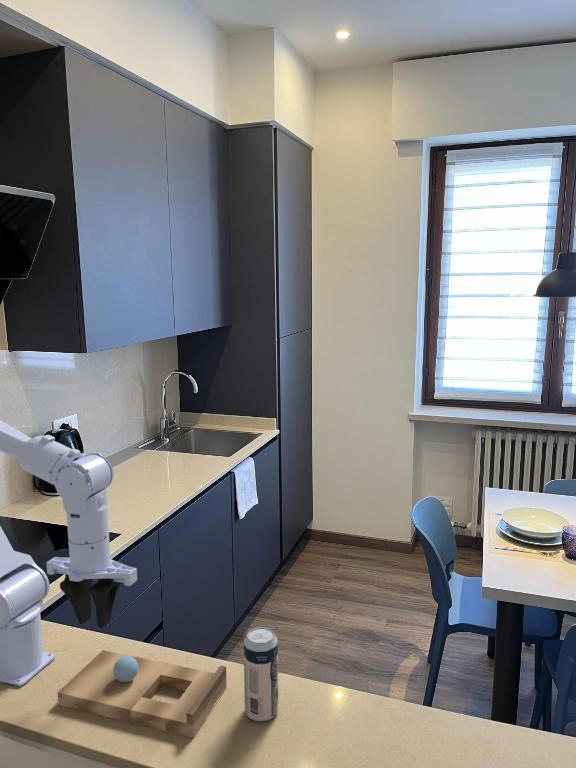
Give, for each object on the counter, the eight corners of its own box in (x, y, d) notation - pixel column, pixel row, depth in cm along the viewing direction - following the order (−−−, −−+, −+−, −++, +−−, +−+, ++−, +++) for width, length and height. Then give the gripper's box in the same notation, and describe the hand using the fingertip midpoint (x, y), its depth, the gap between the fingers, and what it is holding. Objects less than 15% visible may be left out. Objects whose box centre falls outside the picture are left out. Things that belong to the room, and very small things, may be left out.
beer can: (283, 718, 83) (282, 640, 81) (250, 728, 81) (249, 647, 79) (271, 697, 87) (270, 622, 86) (240, 706, 86) (239, 629, 84)
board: (58, 704, 86) (56, 683, 85) (103, 661, 96) (102, 641, 96) (193, 738, 79) (193, 714, 79) (226, 687, 90) (226, 666, 89)
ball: (109, 685, 87) (107, 662, 87) (122, 670, 91) (121, 649, 90) (130, 689, 86) (129, 667, 86) (143, 675, 89) (142, 653, 89)
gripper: (29, 542, 85) (36, 629, 87) (115, 553, 81) (121, 644, 83) (61, 524, 92) (67, 605, 94) (142, 534, 88) (147, 619, 89)
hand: (94, 622), depth 89 cm, fingers open, 3 cm apart
